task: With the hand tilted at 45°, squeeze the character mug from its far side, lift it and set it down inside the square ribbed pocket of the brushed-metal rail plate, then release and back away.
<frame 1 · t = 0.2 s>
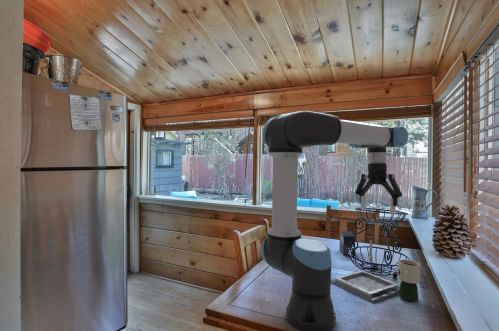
hand: (377, 212, 127), 27 cm above the table, tool pointing down, fingers open, 13 cm apart
small box: (346, 253, 158), on the table
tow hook: (368, 266, 139), on the table
character mug: (408, 299, 106), on the table
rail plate: (365, 286, 115), on the table
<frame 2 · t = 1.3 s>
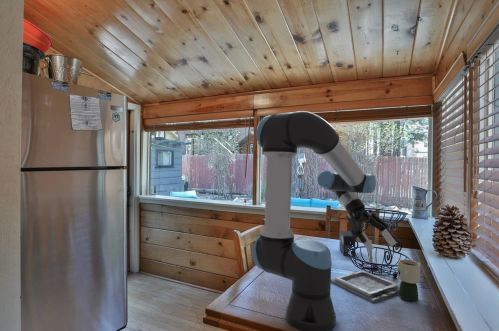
hand: (382, 247, 115), 16 cm above the table, tool tilted 45°, fingers open, 13 cm apart
nothing on the table moved.
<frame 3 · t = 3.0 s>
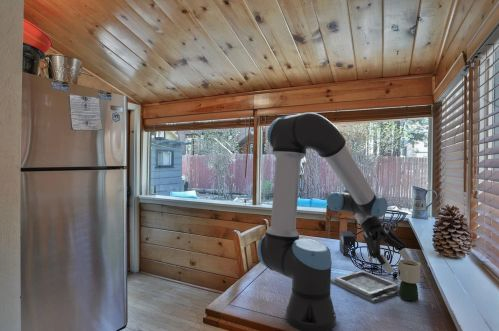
hand: (402, 268, 109), 9 cm above the table, tool tilted 45°, fingers open, 13 cm apart
nothing on the table moved.
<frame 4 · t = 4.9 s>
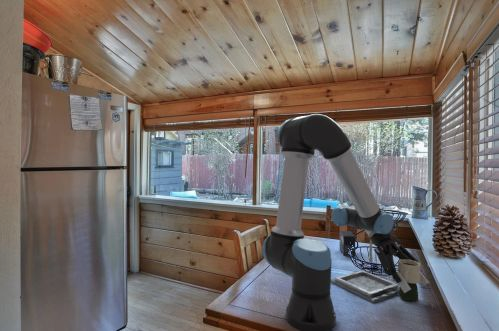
hand: (416, 287, 103), 5 cm above the table, tool tilted 45°, fingers closed on character mug, 10 cm apart
character mug: (408, 299, 106), on the table, touching gripper
everything else where it was.
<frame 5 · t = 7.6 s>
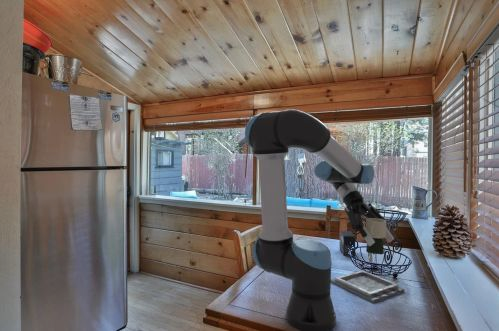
hand: (382, 242, 110), 19 cm above the table, tool tilted 45°, fingers closed on character mug, 10 cm apart
character mug: (374, 254, 113), point 13 cm above the table, touching gripper
everything else where it was.
when the fingers open (7 cm above the table, at t = 10.6 s): character mug drops 1 cm, resting on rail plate.
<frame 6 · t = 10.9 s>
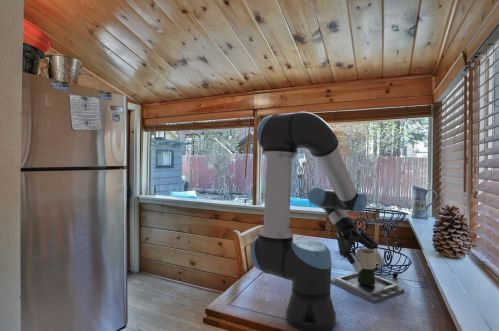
hand: (371, 267, 113), 8 cm above the table, tool tilted 45°, fingers open, 13 cm apart
character mug: (366, 284, 116), point 1 cm above the table, touching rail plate
everything else where it was.
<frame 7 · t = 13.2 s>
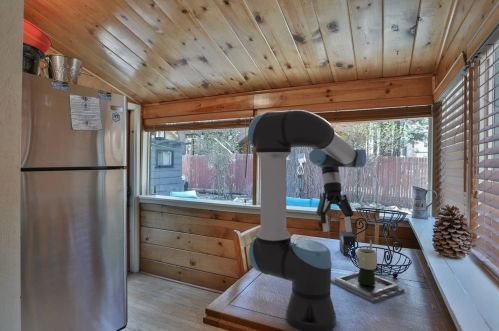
hand: (337, 231, 127), 19 cm above the table, tool tilted 20°, fingers open, 13 cm apart
nothing on the table moved.
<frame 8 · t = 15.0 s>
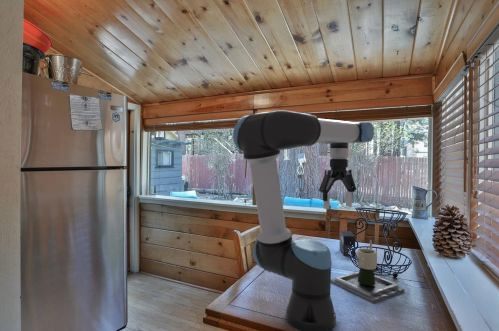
hand: (337, 207, 128), 29 cm above the table, tool pointing down, fingers open, 13 cm apart
nothing on the table moved.
at the end: character mug inside the target area on the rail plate (0.3 cm from its centre), point 0.8 cm above the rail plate's base; character mug tilted 0°; the gripper is holding nothing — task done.
